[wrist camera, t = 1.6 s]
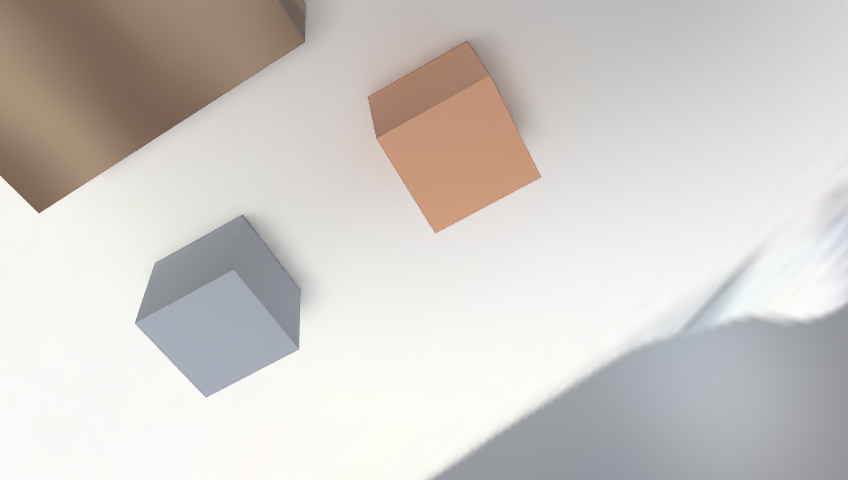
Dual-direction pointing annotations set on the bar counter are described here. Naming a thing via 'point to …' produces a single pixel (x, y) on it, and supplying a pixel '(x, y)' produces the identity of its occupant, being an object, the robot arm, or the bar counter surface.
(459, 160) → the rust cube
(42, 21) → the walnut block
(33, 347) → the bar counter surface
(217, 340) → the grey cube
